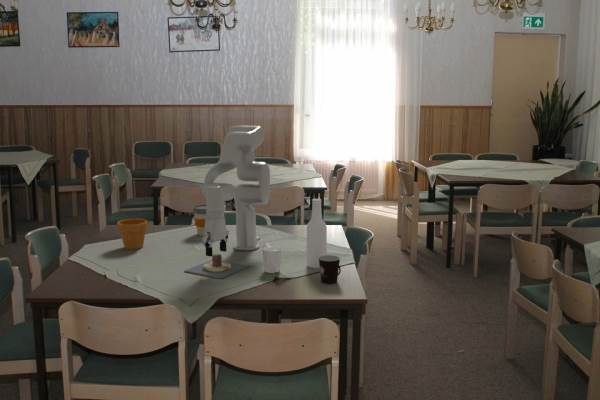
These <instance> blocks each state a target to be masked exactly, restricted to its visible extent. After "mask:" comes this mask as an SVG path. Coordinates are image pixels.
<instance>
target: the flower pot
mask: <svg viewBox="0 0 600 400" xmlns="http://www.w3.org/2000/svg"><path fill="white" fill-rule="evenodd" d="M116 224H117V225H116V226H117V231H118V232H119V233H120V236H121V241H122V243H123V247H124V249H126V250H139V249H141V248H143V247H144V243H145V235H146V230H147V229H148V220H146V219H144V218H127V219H126V218H125V219H121V220H118V221H117V223H116Z"/></svg>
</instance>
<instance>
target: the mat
mask: <svg viewBox="0 0 600 400" xmlns="http://www.w3.org/2000/svg"><path fill="white" fill-rule="evenodd" d="M210 262H212V259H211V260H208V261H206V262H203V263H201V264H197V265H195V266H192V267H190V268H188V269H185V270H184V271H183V272H184V273H188V274H193V275H197V276H199V275H200V276H203V277H204V276H205V277H208V278H213V279H219V280H223V279H225V278H227V277H230V276H232V275H235V274H236V273H239V272H241V271H244V270H246V269H247V268H248V269H249V268H250V265H247V264H243V263H237V262H236V263H235V262H232V261H225V260H222V262H228V263H230V264H231V269H229V270H227V271H223V272H208V271H205V270H204V269H203V265H204V264H206V263H210ZM243 269H244V270H243Z"/></svg>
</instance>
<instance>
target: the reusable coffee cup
mask: <svg viewBox="0 0 600 400" xmlns="http://www.w3.org/2000/svg"><path fill="white" fill-rule="evenodd" d="M193 214H194V215H193V216H194V217H193V219H194V225H195V228H196V233H197V234H196V235H197V236H200V237H204V228H205V220H206V219H207V207H206V204H198V205H195V206H193Z"/></svg>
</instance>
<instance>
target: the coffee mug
mask: <svg viewBox="0 0 600 400" xmlns="http://www.w3.org/2000/svg"><path fill="white" fill-rule="evenodd" d="M340 260H341V257H340V256H338V255H334V254H332V255H331V254H327V255H324V256H320V257H319V265H320V268H319V273H320V280H321V283H322V284H324V285H334V284H337V283H338V278H339V275H340V274H341V271H342V269H341V266H340V262H341V261H340Z"/></svg>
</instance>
